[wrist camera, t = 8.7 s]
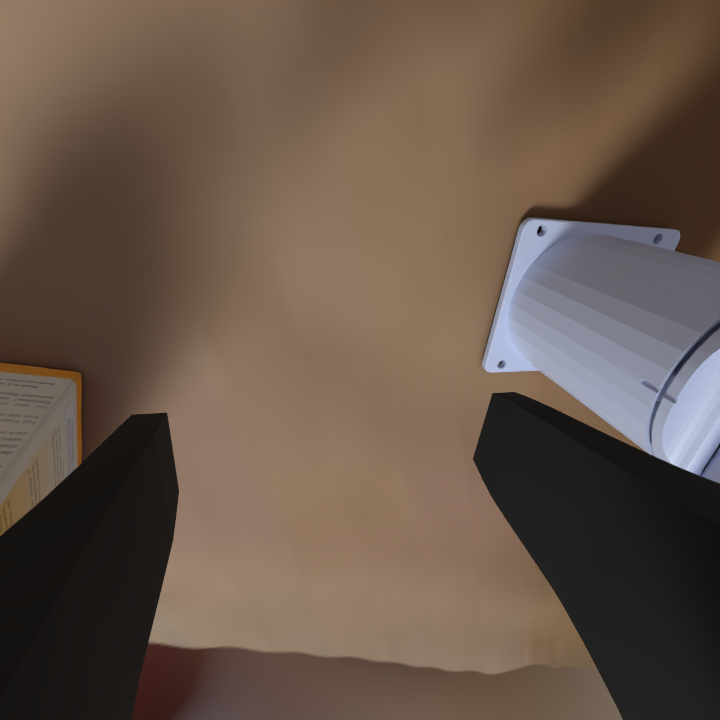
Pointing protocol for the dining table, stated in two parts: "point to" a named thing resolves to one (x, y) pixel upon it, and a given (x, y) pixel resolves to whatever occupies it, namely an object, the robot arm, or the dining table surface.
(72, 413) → the supplement box
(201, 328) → the dining table surface
